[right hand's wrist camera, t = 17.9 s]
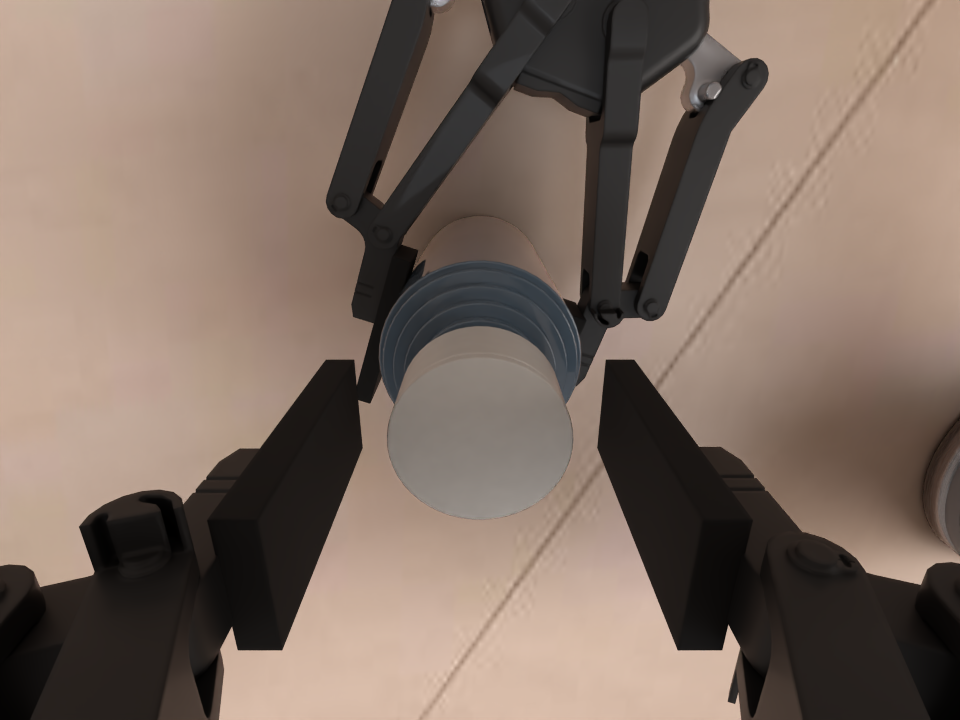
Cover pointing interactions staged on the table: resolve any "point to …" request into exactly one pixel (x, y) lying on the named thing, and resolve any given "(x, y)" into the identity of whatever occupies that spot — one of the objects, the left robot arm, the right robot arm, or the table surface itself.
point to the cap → (480, 425)
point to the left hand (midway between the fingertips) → (446, 410)
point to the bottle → (480, 299)
